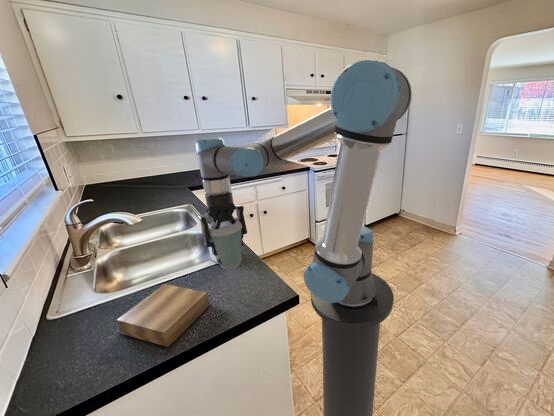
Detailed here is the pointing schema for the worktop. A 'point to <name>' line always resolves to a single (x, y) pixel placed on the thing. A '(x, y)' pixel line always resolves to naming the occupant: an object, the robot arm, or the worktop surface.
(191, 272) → the worktop surface
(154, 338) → the maple block
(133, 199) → the worktop surface
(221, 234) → the disposable coffee cup
